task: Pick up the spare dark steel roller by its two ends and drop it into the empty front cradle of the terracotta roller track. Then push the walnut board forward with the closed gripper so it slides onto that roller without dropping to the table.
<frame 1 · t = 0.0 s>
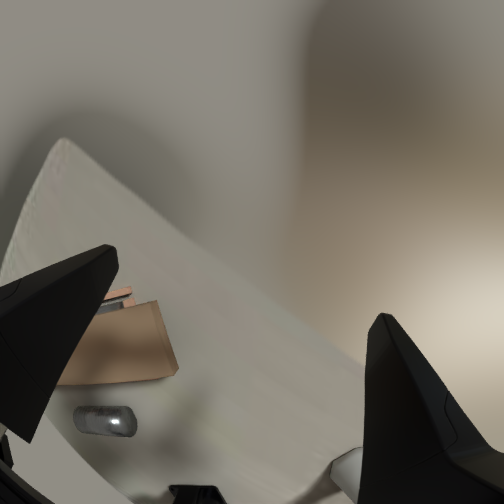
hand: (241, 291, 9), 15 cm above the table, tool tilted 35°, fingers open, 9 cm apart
flask: (358, 464, 23), on the table
walnut board: (89, 348, 22), point 3 cm above the table, touching middle roller, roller
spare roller: (111, 414, 25), on the table
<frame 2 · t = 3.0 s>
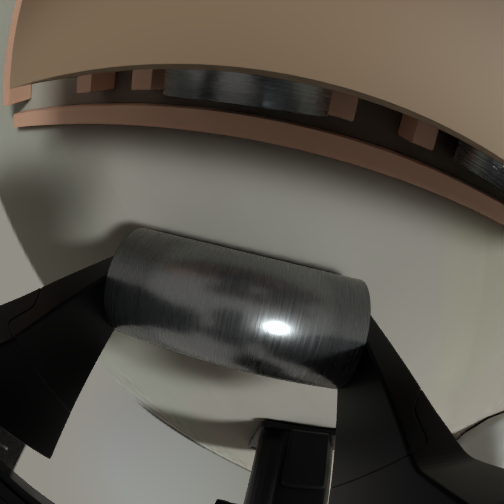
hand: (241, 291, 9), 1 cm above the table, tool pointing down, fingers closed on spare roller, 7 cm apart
flask: (485, 424, 15), on the table
roller track: (494, 69, 4), on the table
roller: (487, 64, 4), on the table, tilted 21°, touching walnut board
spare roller: (248, 268, 10), on the table, tilted 11°, touching gripper
when the fingers open (2 cm above the table, at t = 7.5 s): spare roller drops 1 cm, on the table.
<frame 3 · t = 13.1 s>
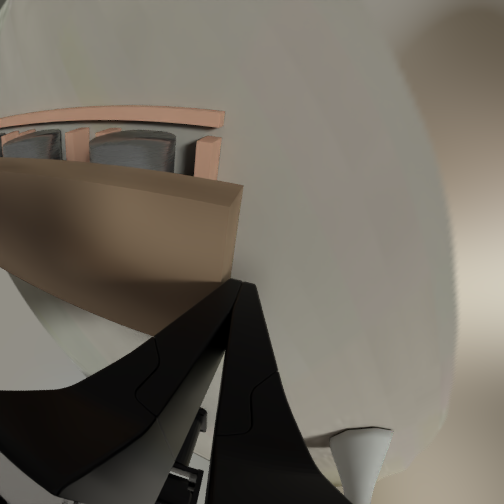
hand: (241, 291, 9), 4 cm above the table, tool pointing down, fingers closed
flask: (360, 435, 24), on the table
middle roller: (62, 186, 13), on the table, tilted 18°, touching roller track, walnut board
roller track: (158, 203, 13), on the table
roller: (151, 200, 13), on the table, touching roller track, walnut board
walnut board: (53, 221, 10), point 3 cm above the table, touching middle roller, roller
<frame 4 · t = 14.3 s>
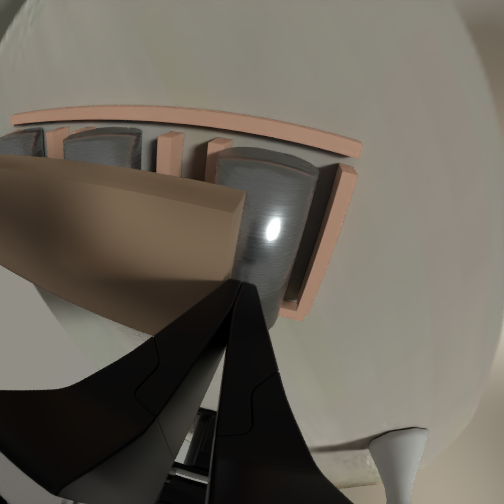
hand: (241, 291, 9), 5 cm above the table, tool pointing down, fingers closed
flask: (398, 436, 23), on the table
middle roller: (140, 201, 13), on the table, tilted 41°
roller track: (269, 226, 12), on the table
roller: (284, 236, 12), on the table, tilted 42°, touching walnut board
walnut board: (54, 220, 10), point 3 cm above the table, touching gripper, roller, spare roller
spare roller: (47, 185, 13), on the table, tilted 45°, touching roller track, walnut board
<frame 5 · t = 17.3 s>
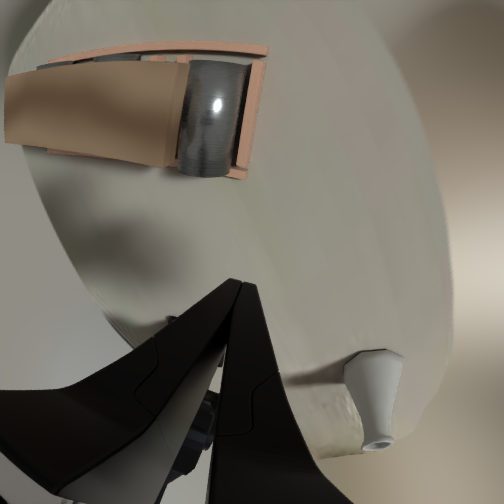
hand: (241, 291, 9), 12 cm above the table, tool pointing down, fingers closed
flask: (372, 365, 28), on the table
middle roller: (135, 99, 17), on the table, tilted 39°, touching walnut board
roller track: (216, 107, 17), on the table
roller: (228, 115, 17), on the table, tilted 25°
walnut board: (76, 104, 14), point 3 cm above the table, touching middle roller, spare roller
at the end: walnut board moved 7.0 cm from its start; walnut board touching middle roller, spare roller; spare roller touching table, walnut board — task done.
